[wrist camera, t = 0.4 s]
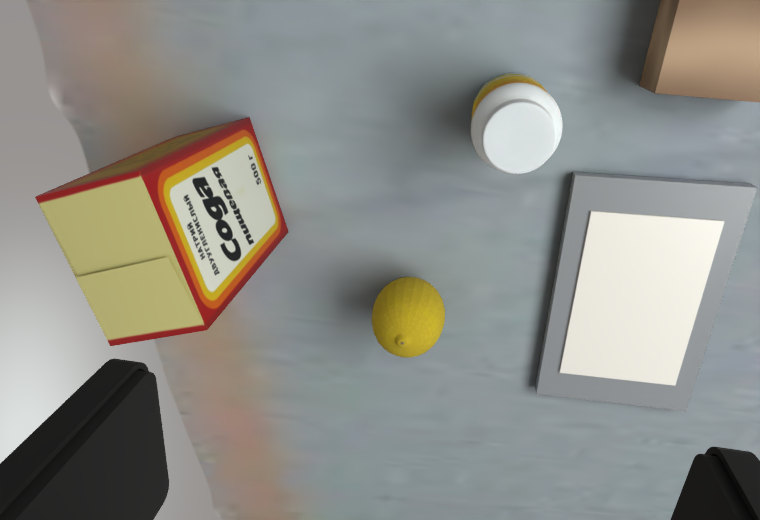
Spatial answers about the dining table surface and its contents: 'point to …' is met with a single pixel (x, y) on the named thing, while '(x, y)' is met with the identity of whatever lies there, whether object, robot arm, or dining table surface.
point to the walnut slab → (705, 50)
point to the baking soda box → (168, 231)
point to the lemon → (408, 317)
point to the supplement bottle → (515, 124)
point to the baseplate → (639, 286)
